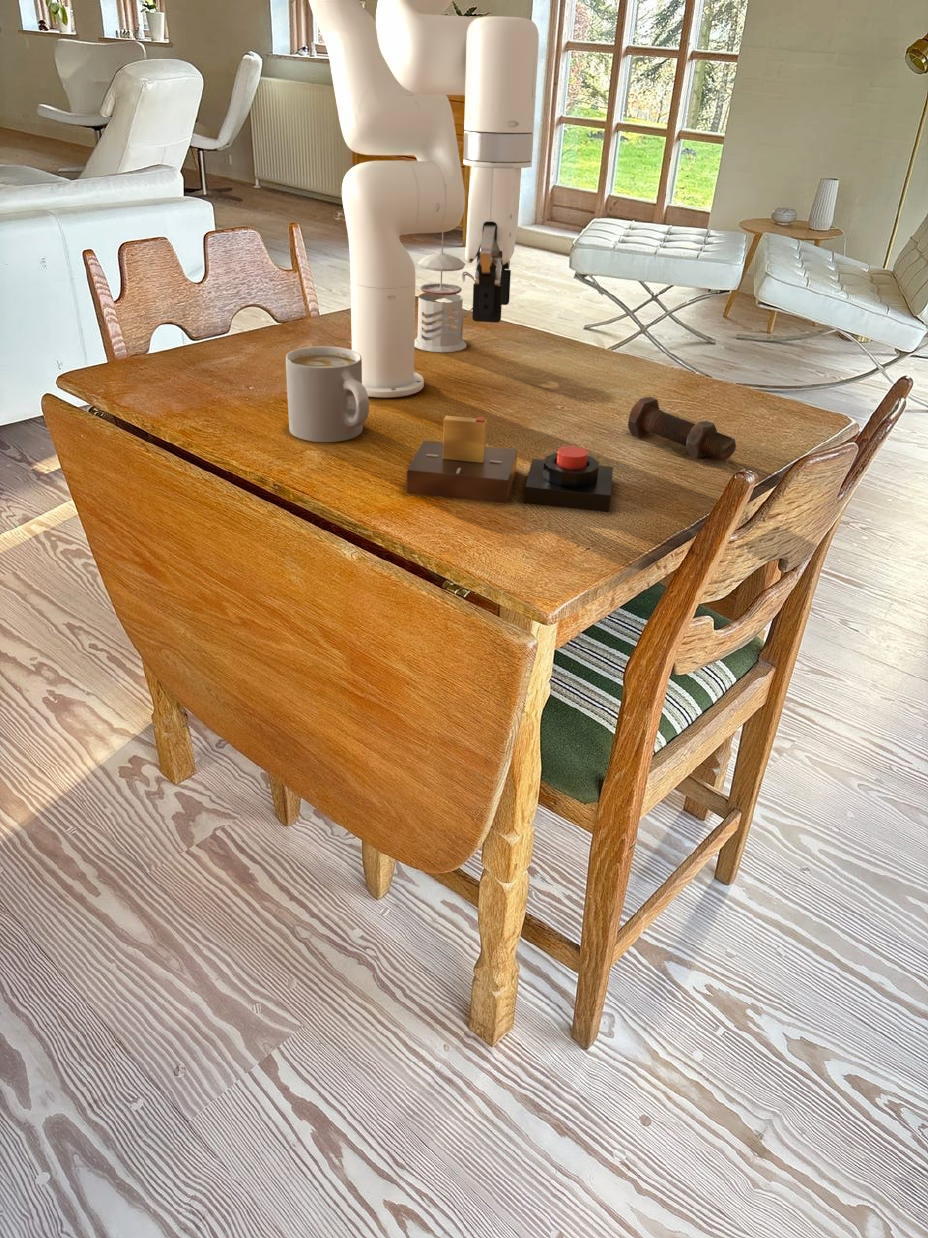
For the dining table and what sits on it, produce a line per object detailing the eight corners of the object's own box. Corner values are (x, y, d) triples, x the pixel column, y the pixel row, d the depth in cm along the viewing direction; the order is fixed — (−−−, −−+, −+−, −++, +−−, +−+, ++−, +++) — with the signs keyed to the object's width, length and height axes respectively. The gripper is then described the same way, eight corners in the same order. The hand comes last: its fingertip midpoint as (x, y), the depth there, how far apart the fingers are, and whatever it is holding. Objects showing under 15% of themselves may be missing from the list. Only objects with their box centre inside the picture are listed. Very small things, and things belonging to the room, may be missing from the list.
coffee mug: (277, 423, 132) (273, 351, 127) (342, 412, 137) (340, 342, 132) (320, 455, 123) (317, 379, 118) (387, 443, 128) (388, 369, 122)
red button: (555, 469, 113) (556, 455, 112) (557, 458, 116) (558, 444, 115) (585, 472, 112) (587, 458, 111) (587, 461, 115) (588, 447, 114)
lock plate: (406, 493, 114) (406, 468, 112) (422, 462, 122) (423, 438, 121) (506, 503, 112) (508, 478, 111) (515, 471, 121) (517, 448, 119)
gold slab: (442, 458, 116) (443, 417, 113) (444, 454, 117) (445, 413, 114) (483, 463, 115) (485, 421, 112) (485, 458, 116) (487, 417, 113)
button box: (523, 503, 113) (526, 472, 111) (531, 474, 120) (533, 444, 118) (608, 512, 112) (612, 480, 109) (610, 482, 119) (614, 452, 117)
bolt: (721, 478, 126) (631, 441, 135) (743, 453, 128) (653, 418, 137) (716, 447, 122) (624, 411, 131) (739, 421, 123) (646, 388, 132)
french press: (409, 336, 173) (412, 186, 160) (473, 337, 175) (480, 188, 162) (413, 351, 165) (416, 194, 152) (480, 352, 166) (488, 197, 153)
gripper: (473, 144, 112) (469, 296, 120) (452, 154, 97) (448, 326, 105) (537, 147, 111) (528, 299, 119) (526, 157, 96) (516, 330, 105)
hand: (491, 312), depth 112 cm, fingers open, 9 cm apart
